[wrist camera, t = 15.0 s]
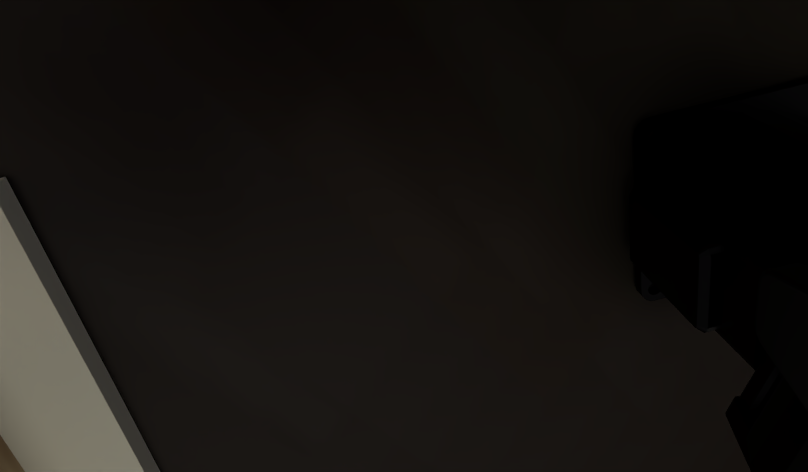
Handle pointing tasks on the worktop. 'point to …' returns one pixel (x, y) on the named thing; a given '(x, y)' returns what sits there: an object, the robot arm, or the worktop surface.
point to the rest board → (54, 368)
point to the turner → (8, 459)
